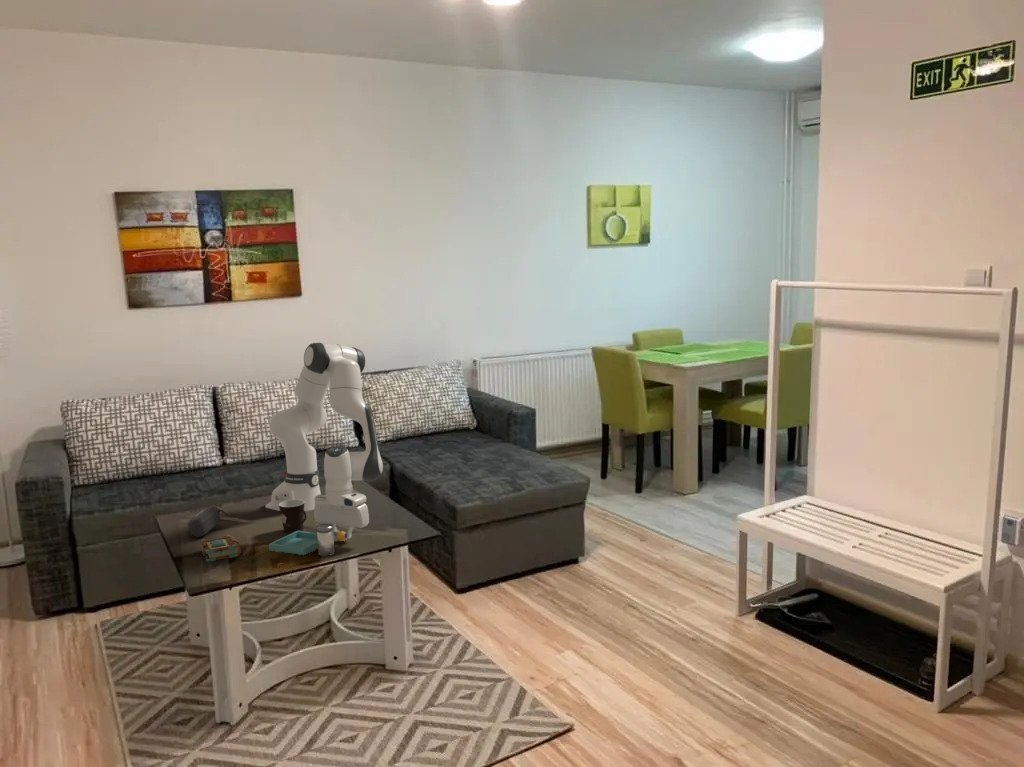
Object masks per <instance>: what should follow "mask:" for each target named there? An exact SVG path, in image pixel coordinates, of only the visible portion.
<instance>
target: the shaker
mask: <svg viewBox="0 0 1024 767" xmlns="http://www.w3.org/2000/svg"><path fill="white" fill-rule="evenodd" d="M333 529H334V528H333V525H332V524H329V523H320V524H318V525H316V526H315V531H316V533H317V540H318V550H317V552H318V556H319V555H322V556H321V557H327V556H326V555H330V554H332V553H334V552H335V537H334V536H333ZM334 554H335V553H334ZM330 556H331V555H330Z"/></svg>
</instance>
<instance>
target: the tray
mask: <svg viewBox="0 0 1024 767" xmlns="http://www.w3.org/2000/svg"><path fill="white" fill-rule="evenodd" d="M316 549H318V540H317V532H311V531H304V530H303V531H296V532H293V533H288V534H287V535H285V536H283V537H281V538H279V539H276V540H274V541H272V542H270V543H268V550H269V552H274V551H275V552H276V553H281V552H284V553H283V554H287V553H292V554H291V555H294V554H298V555H297V556H301V555H303V556H302V557H304V555H305V556H307V555H309V554H311V553H310V552H312V553H314V552H315V551H314V550H316ZM313 551H314V552H313ZM316 551H317V550H316ZM308 553H309V554H308ZM306 554H307V555H306Z"/></svg>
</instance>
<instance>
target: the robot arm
mask: <svg viewBox="0 0 1024 767" xmlns="http://www.w3.org/2000/svg"><path fill="white" fill-rule="evenodd" d="M303 362H304V363H303V366H302V369H301V371H300V375H299V376H298V379H297V382H296V385H295V387H294V392H295V395H296V397H297V398H298V400H297V403H296V405H294V406H293V407H289V408H284V409H282V410H280V411H278V412H277V413H275V414H274V415H272V416H271V417H270V419H269V423H268V426H269V427H268V428H269V430H270V433H271V434H272V436H273V437H274V438H276V439H277V440H279V442H280V443H281V445H282V448H283V449H284V450H283V451H284V454H285V461H286V470H287V471H286V472H284V473H281V475H282V476H281V477H282V478H284V479H283V482H282V483H280V484H279V485H278V486H276V488H275V489H273V491H272V492H271V499H270V500H271V501H269V502H268V503H266V504H265V508H266V509H271V510H275V511H279V512H280V508H279V503H281V502H284V501H288V500H303V501H304V511H305V512H306V511H309V512H310V511H312V510H313V519H314V521H315V522H317V523H321V524H332V525H333V528H334V529H333V537H334V538H337V534H338V533H339V532H341V531H340V530H338V528H337V526H344V527H346V530H347V532H346V533H345V538H347V540H348V539H352V532H353V531H354V528H360V529H362V528H365V527H366V526H368V525H369V523H370V514H369V508H368V504H366V502H367V496H366V495H365V494H363V493H360V492H359V491H357V490H355V489H354V488H353V487H354V486H353V483H352V481H366V482H375V481H376V480H377V479H379V477H381V475H382V474H383V471H384V470H383V469H384V464H383V460H382V459H383V458H382V456H381V452H380V449H379V448H380V447H379V441H378V436H377V429H376V424H375V423H376V422H375V419H374V415H373V410H372V408H371V406H370V405H369V404H366V402H365V400H364V396H363V381H362V372H363V371H364V370H365V367H366V357H365V354H364V351H362V350H361V349H359V348H356V347H354V346H353V347H350V346H347V345H343V344H337V343H336V344H334V343H323V342H313V343H310V344H309V345H308V346H307V347H306V348H305V350H304V354H303ZM328 388H329V391H328ZM327 392H328V393H329V394H328V398H329V404H330V407H331V409H332V410H333V411H334V412H335V413H337V414H338V415H339V416H342V417H344V418H347V419H350V420H352V421H355V422H357V423H359V424H360V426H361V427H362V431H363V438H364V445H365V450H364V451H349V449H348V448H346V447H344V446H333V447H330V448H328V449H327V450H326V451H325V454H324V461H323V470H324V471H323V472H324V479H325V486H324V487H325V488H324V489H325V494H321V489H320V488H321V487H320V473H319V468H318V461H317V451H316V448H315V447H313V446H312V445H310V444H309V442H308V439H307V436H306V435H307V434H310V433H312V432H313V433H314V432H316V431H317V430H320V428H322V427H324V426H325V424H327V423H326V422H327V419H328V416H327V411H326V409H325V408H324V401H325V397H326V395H327V394H326V393H327Z"/></svg>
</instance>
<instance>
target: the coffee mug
mask: <svg viewBox="0 0 1024 767" xmlns="http://www.w3.org/2000/svg"><path fill="white" fill-rule="evenodd" d="M279 508H280V511H279V514H280V517H281V522H282V528H283V532H284V533H285V534H291V533H293V532H296V531H304V523H305V522H306V520H307V512H306V511H304V501H303V500H288V501H284V502H281V503H279Z"/></svg>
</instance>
